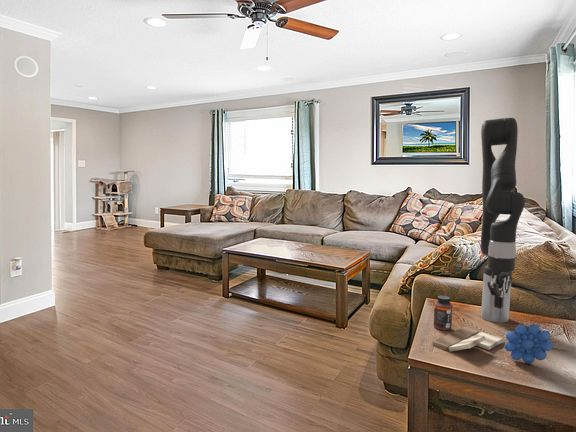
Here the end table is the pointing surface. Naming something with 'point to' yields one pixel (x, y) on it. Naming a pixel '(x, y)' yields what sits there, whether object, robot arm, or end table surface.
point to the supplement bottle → (443, 313)
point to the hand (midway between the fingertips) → (498, 307)
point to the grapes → (528, 343)
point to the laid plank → (454, 337)
